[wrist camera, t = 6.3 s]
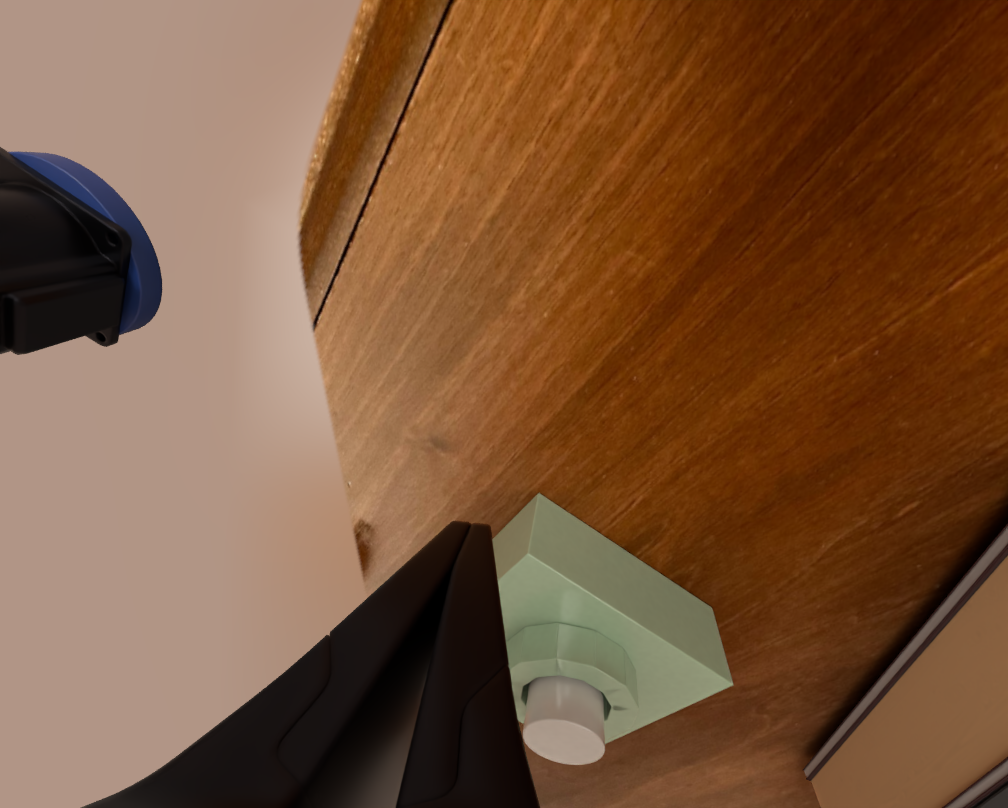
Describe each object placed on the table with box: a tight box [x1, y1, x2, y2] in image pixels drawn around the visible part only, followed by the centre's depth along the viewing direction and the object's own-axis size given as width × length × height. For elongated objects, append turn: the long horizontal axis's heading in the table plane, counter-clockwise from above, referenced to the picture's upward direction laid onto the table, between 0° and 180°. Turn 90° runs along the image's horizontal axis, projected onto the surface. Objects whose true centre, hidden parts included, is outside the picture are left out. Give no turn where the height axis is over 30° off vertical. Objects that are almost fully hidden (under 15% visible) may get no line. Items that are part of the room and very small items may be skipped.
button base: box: [492, 493, 733, 744], centre depth 23 cm, size 12×10×6 cm
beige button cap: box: [523, 675, 605, 765], centre depth 20 cm, size 4×4×2 cm
